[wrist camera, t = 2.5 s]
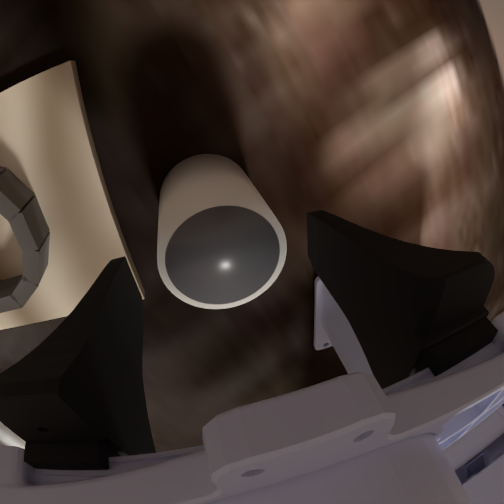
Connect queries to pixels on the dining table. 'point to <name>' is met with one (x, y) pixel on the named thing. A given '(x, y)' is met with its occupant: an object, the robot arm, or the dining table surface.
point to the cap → (216, 234)
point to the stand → (51, 201)
